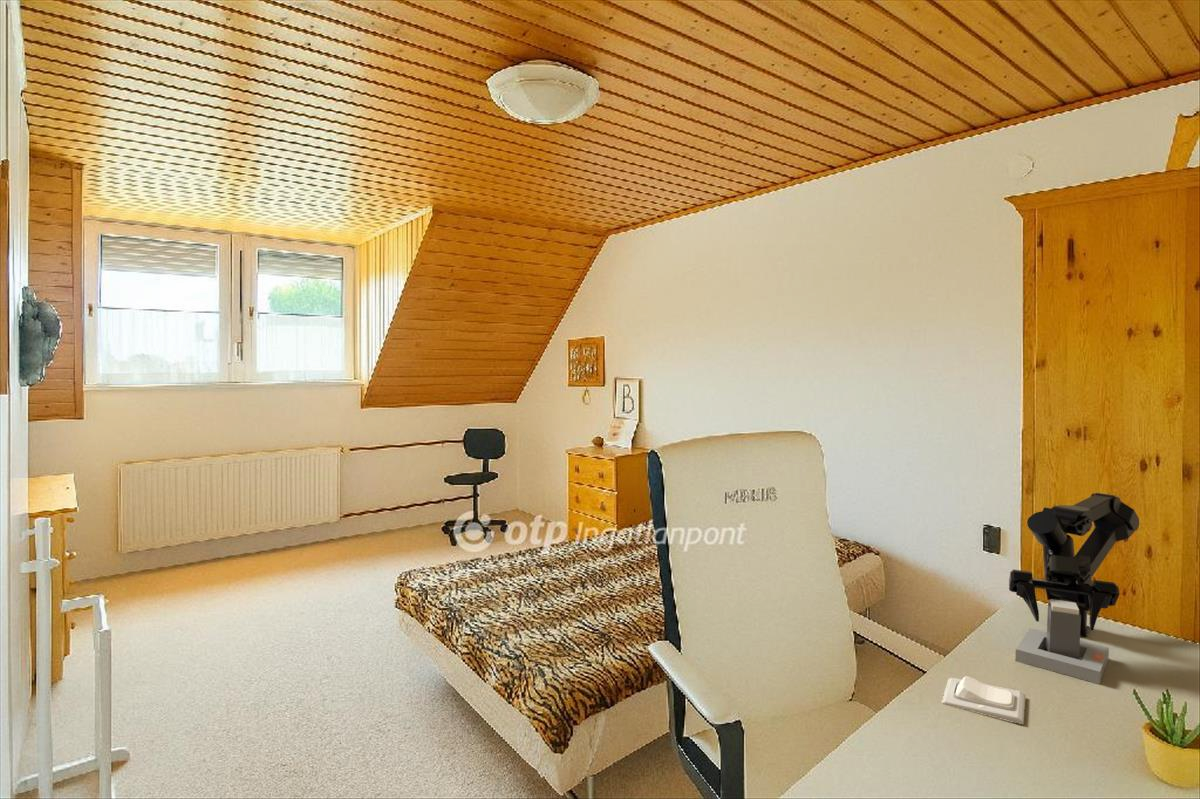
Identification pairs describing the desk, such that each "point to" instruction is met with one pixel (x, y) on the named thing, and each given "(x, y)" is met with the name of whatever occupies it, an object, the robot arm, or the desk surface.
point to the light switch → (985, 699)
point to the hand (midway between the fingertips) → (1064, 625)
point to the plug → (1063, 628)
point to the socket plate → (1063, 657)
